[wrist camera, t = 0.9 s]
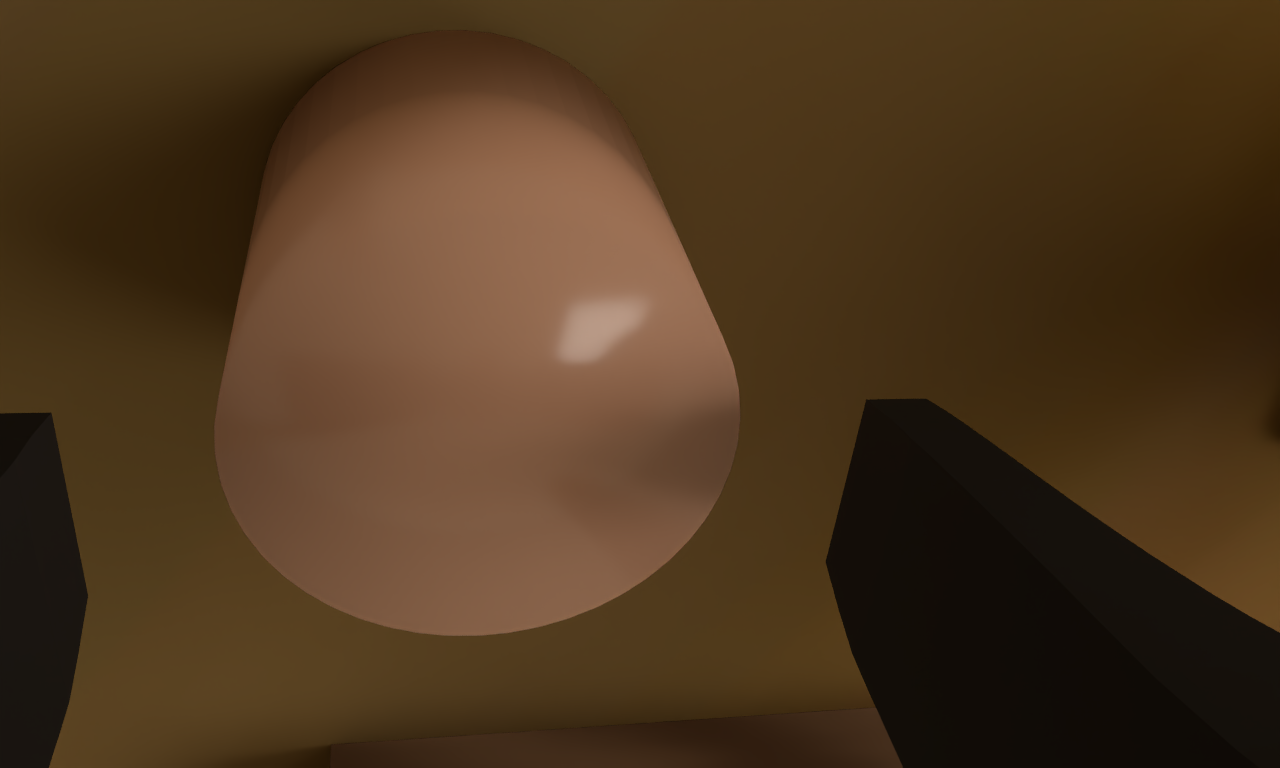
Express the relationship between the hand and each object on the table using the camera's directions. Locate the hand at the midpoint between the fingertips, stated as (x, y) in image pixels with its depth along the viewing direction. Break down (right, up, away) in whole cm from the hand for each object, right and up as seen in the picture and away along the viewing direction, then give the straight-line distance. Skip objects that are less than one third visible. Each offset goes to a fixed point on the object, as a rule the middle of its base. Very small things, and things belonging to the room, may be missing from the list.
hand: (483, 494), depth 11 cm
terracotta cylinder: (-1, +3, +5) cm, 6 cm away
